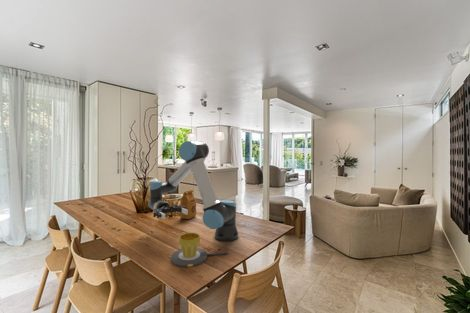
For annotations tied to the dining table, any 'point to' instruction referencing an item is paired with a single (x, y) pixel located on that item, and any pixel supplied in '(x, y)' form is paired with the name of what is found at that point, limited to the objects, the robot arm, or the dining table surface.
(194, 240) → the plant pot
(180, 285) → the dining table surface
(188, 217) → the coffee package
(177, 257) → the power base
